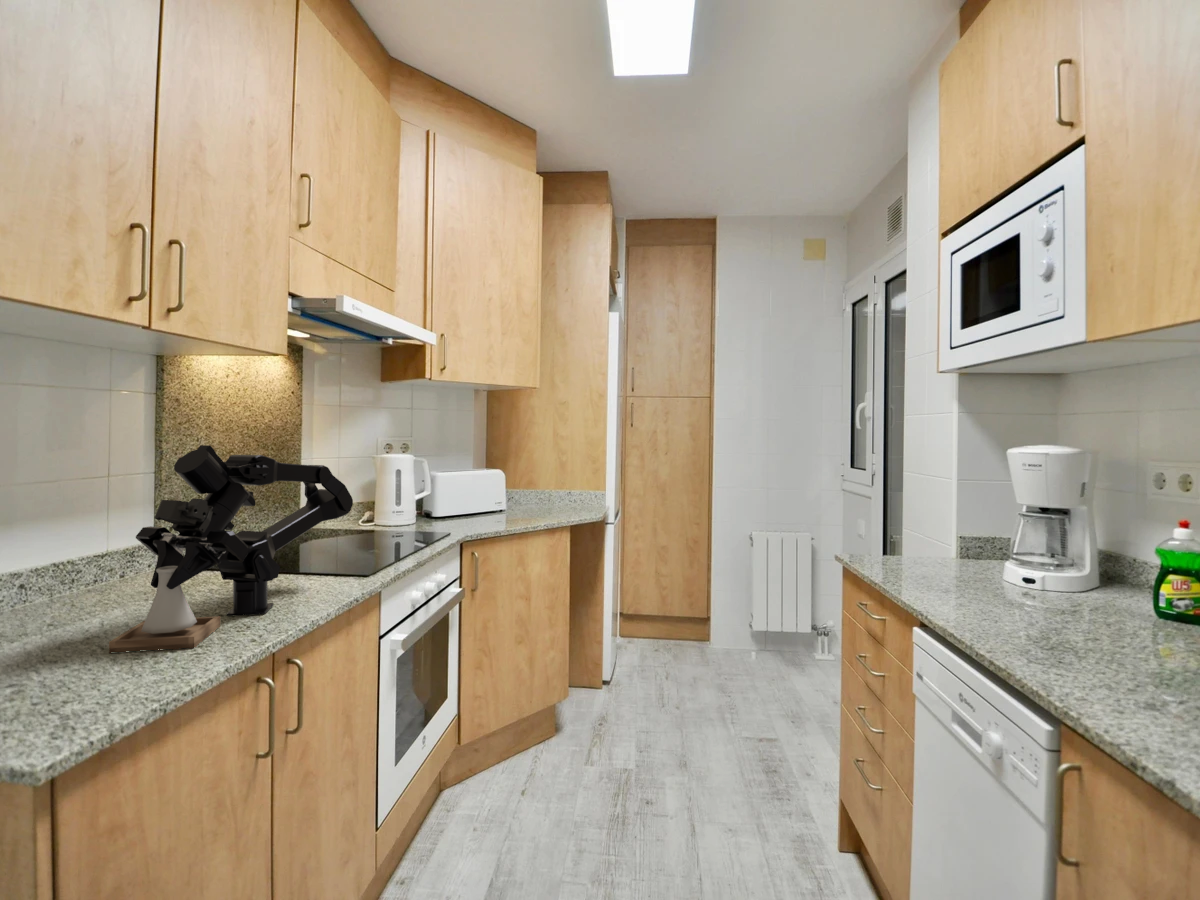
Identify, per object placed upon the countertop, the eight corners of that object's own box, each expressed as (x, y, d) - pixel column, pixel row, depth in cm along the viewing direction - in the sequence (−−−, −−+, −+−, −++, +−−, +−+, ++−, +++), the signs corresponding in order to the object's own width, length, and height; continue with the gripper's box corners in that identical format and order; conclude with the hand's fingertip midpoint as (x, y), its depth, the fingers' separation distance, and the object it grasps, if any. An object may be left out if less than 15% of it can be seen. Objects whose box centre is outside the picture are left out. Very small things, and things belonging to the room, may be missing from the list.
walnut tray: (144, 630, 108) (144, 620, 108) (220, 626, 110) (220, 616, 110) (109, 653, 96) (109, 641, 96) (194, 648, 99) (194, 636, 99)
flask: (206, 621, 107) (205, 563, 107) (175, 635, 100) (174, 572, 99) (164, 621, 107) (163, 562, 107) (131, 634, 100) (129, 572, 100)
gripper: (145, 480, 109) (79, 555, 99) (233, 482, 104) (174, 562, 94) (186, 519, 117) (129, 593, 107) (270, 523, 112) (219, 601, 102)
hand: (160, 587), depth 102 cm, fingers closed on flask, 3 cm apart
